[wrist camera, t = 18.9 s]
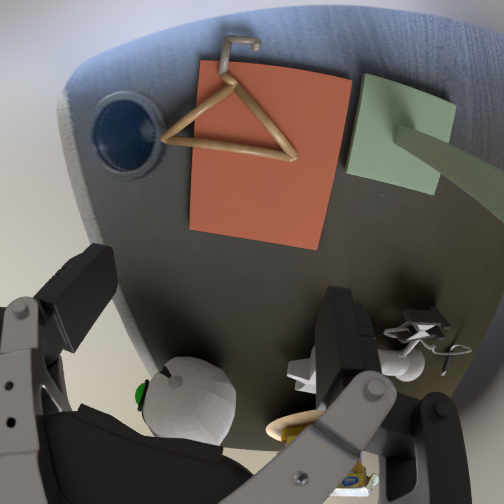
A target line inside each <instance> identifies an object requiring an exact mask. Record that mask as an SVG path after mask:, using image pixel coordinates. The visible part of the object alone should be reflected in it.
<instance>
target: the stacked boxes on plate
mask: <svg viewBox="0 0 504 504" xmlns="http://www.w3.org/2000/svg"><path fill="white" fill-rule="evenodd" d="M324 412H325V411H316V410H312V411H306V412H301V413H297V414H292V415H288V416H285V417H282V418H280V419H277V420H275V421H273V422H271V423H270V424H269V425H268V426H267V428H266V432H267V434H268V435H269V436H271V437H273V438H274V439H277V440H280V441H281V443H282V445H284V446H285V447H286V446H287V445H288V444H290V443H291V442H292V441H293V440H294V439H295V438H296V437H297V436H298V435H299V434H300V433H301V432H302V431H303V430H304V429H305V428H306V427H307V426H308V425H309V424H310V423H312V422H315V421H316V420H317V419H318V418H319V417H320V416H321V415H322V414H323V413H324ZM279 453H280V452H279ZM279 453H277V455H278V454H279ZM362 454H363V450H362V452H361V453H360V455H361V456H360V458H359V460H358V461H357V463H356V464H355V466H354V467H353V468H352V469H351V471H350V472H349V473H348V474H347V476H346V477H345V478H344V479H343V481H342V482H341V483H340V484H339V485H338V487H337V488H336V489H335V490H334V491H333V492H332V494H331V495H330V496H361V497H365V496H368V495H369V493H370V491H371V490H372V487H373V486H374V485H375V484H377V483H378V482H379V476H377V475H375V473H373V474H372V475H371V476H370V477H368V476H366V468H365V467H364V466H363V465H362Z"/></svg>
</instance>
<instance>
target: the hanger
mask: <svg viewBox="0 0 504 504" xmlns="http://www.w3.org/2000/svg"><path fill="white" fill-rule="evenodd" d="M232 43H237V44H248V45H251V49H252V50H253V51H258V50H259V49H260V46H261V39H260V38H257V37H248V36H237V35H226V36H224V38H223V44H222V50H221V57H220V64H219V71H218V75H219V77H220V78H222V79H223V80H224V81H225V82H226V83H227V84H228V85H226V86H225V87H223V88H222V89H221V90H219V91H218V92H216V93H215V94H213V95H212V96H211V97H209V98H208V99H207V100H205V101H204V102H203V103H201V104H200V105H198V106H197V107H196V108H195V109H193V110H192V111H191V112H189V113H188V114H187V115H185V116H184V117H183V118H182V119H180V120H179V121H178V122H177V123H175V124H174V125H173V126H172V127H170V128H169V129H168V130H167V131H166V132H164V133H163V134H162V135H161V136H160V140H161V141H162V142H164V143H165V144H171V145H181V146H190V147H198V148H206V149H214V150H221V151H228V152H235V153H241V154H248V155H254V156H260V157H266V158H271V159H277V160H282V161H287V162H292V161H296V160H298V158H299V155H298V153H297V152H296V150H295V149H294V148H293V147H292V145H291V144H290V143H289V141H288V140H287V139H286V138H285V136H284V135H283V134H282V133H281V131H280V130H279V129H278V128H277V126H276V125H275V124H274V123H273V121H272V120H271V119H270V118H269V117H268V115H267V114H266V113H265V112H264V111H263V109H262V108H261V107H260V106H259V105H258V103H257V102H256V101H255V100H254V99H253V98H252V96H251V95H250V94H249V93H248V92H247V91H246V90H245V88H244V87H243V86H242V85H241V84H240V83H239V82H238V81H236V80H235V79H234V78H233V77H232V76H231V75H230V74H229V73H228V72H227V70H228V63H229V57H230V50H231V44H232ZM233 92H235V93H236V94H237V95H238V96H239V98H240V99H241V100H242V101H243V102H244V103H245V104H246V106H247V107H248V108H249V109H250V110H251V111H252V113H253V114H254V115H255V116H256V117H257V119H258V120H259V121H260V122H261V123H262V125H263V126H264V127H265V128H266V129H267V131H268V132H269V133H270V134H271V136H272V137H273V138H274V139H275V141H276V142H277V143H278V144H279V146H280V147H281V148H282V149H283V151H280V150H275V149H269V148H263V147H257V146H251V145H245V144H238V143H231V142H224V141H216V140H208V139H200V138H191V137H181V136H175V135H176V134H177V133H178V132H180V131H181V130H182V129H183V128H185V127H186V126H187V125H189V124H190V123H191V122H192V121H194V120H195V119H196V118H198V117H199V116H200V115H202V114H203V113H204V112H206V111H207V110H209V109H210V108H211V107H213V106H214V105H215V104H217V103H218V102H220V101H221V100H223V99H224V98H225V97H227V96H228V95H230V94H231V93H233Z"/></svg>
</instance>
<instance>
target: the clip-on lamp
mask: <svg viewBox="0 0 504 504" xmlns="http://www.w3.org/2000/svg"><path fill="white" fill-rule="evenodd" d="M402 314H403V315H404V317H405V318H406V320H407V322H406V323H404V324H402V325H401V326H399V327H396V328H392V329H386V330H384V335H386V336H389V337H392V338H397V339H398V340H399V341H400V342H401V343H408V342H410V343H409V344H408V345H407V346H406V347H405V348H404V349H402V350H400V351H393V350H384V349H377V350H378V354H379V359H380V364H381V369H382V373H383V374H384V375H393V376H396V377H397V378H398V379H400V380H402V381H411V380H414V379H416V378H417V377H418V376H420V374H421V373H422V371H423V369H424V363H425V362H424V357H423V354H422V353H421V352H420V351H419V350H418V349H416V348H414V347H415V345H416V344H417V343H418V342H419V341H421V342H422V343H423V344H424V345H425V346H426V347H427V348H428V349H432V351H433V352H434V353H435V354H439V355H446V359H445V362H444V366H443V369H442V372H443V373H442V374H441V375H442V376H443V375H444V374H445V373H446V372H447V371H448V369H449V366H450V362H451V359H452V355H453V354H463V353H468V352H471V351H472V349H471V348H469V347H468V346H465V345H460V344H456V345H453V346H452V347H451V348H450V350H449V351H448V352H447V353H441V352H436V351H434V348H435V345H434V344H433V345H432V346H428V345H427V344H426V343H425V342H424V341H423V340H422V339H426V338H430V337H436V338H437V340H443V339H444V337H445V336H444V334H443V333H442V332H441V330H440V329H439V328H438V326H437V325H441V326H442V327H443V329H449V328H450V327H451V326H450V324H449V323H448V322H447V320H446V319H445V318H444V317H443V315H442V314H441V313H440V312H439V310H438V309H437V308H436V307H430V309H429V310H415V309H404V310H403V312H402ZM388 332H394V334H390V333H388ZM455 346H463V347H466V348H468V349H469V350H468V351H463V352H454V351H453V348H454V347H455Z"/></svg>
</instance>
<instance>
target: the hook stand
mask: <svg viewBox="0 0 504 504" xmlns="http://www.w3.org/2000/svg"><path fill="white" fill-rule="evenodd" d="M455 111H456V105H455V104H453V103H451V102H448V101H446V100H444V99H441V98H439V97H436V96H434V95H431V94H429V93H426V92H423V91H421V90H418V89H415V88H412V87H409V86H407V85H404V84H401V83H398V82H395V81H391V80H388V79H385V78H382V77H378V76H375V75H371V74H368V73H364V74H363V75H362V82H361V88H360V94H359V100H358V105H357V111H356V116H355V121H354V127H353V132H352V137H351V142H350V147H349V151H348V156H347V161H346V165H345V171H346V173H348V174H353V175H357V176H361V177H366V178H370V179H374V180H379V181H383V182H387V183H391V184H395V185H398V186H402V187H406V188H410V189H413V190H417V191H421V192H424V193H428V194H431V195H434V193H435V190H436V187H437V184H438V180H439V177H440V173H441V174H442V175H444V176H445V177H446V178H448V179H449V180H451V181H452V182H453V183H455V184H456V185H458V186H459V187H460V188H462V189H463V190H464V191H466V192H467V193H468V194H469V195H471V196H472V197H473V198H475V199H476V200H477V201H478V202H480V203H481V204H482V205H483V206H485V207H486V208H487V209H488V210H489V211H491V212H492V213H493V214H494V215H495V216H497V217H498V218H499V219H500V220H501V221H502V222H503V223H504V172H503V171H502V170H500V169H498V168H496V167H494V166H493V165H491V164H489V163H487V162H485V161H483V160H481V159H479V158H477V157H476V156H474V155H472V154H470V153H468V152H465V151H463V150H461V149H459V148H457V147H455V146H453V145H451V144H448V143H449V139H450V135H451V130H452V126H453V121H454V116H455Z"/></svg>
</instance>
